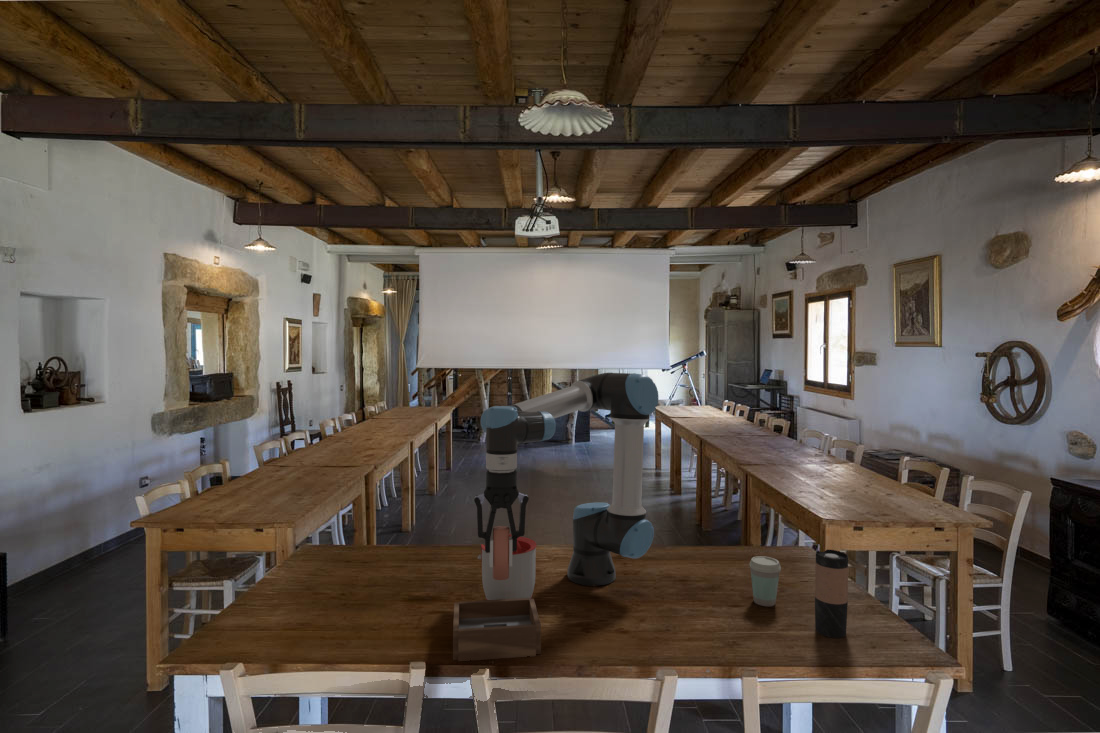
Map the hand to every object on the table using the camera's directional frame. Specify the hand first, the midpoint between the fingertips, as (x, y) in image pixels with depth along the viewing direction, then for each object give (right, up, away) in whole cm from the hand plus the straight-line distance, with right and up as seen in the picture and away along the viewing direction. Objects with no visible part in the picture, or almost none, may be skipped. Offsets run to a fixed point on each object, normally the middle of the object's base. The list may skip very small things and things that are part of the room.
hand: (500, 564), depth 147 cm
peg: (0, -3, 0) cm, 3 cm away
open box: (-1, -19, 0) cm, 19 cm away
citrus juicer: (0, -19, +23) cm, 29 cm away
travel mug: (+84, -19, +6) cm, 86 cm away
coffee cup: (+73, -19, +24) cm, 79 cm away
